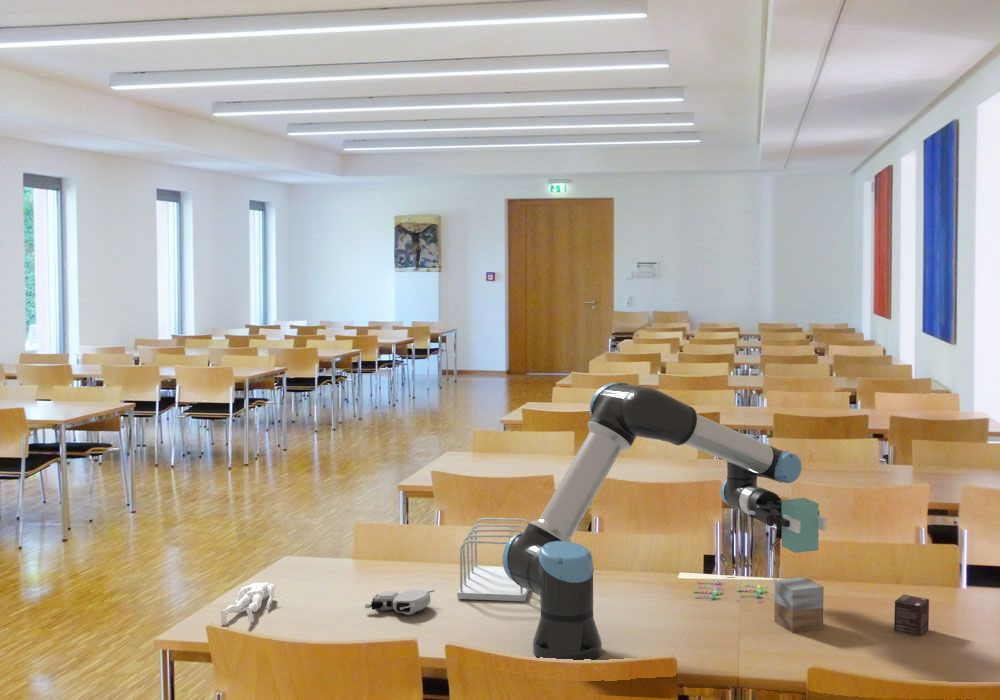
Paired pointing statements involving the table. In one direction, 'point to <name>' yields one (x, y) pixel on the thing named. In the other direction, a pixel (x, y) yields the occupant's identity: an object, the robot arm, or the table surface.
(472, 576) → the file sorter
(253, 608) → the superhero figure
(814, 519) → the teal brick
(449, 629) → the table surface
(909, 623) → the box
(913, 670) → the table surface
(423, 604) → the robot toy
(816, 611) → the grey wood-grain cube
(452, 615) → the table surface
